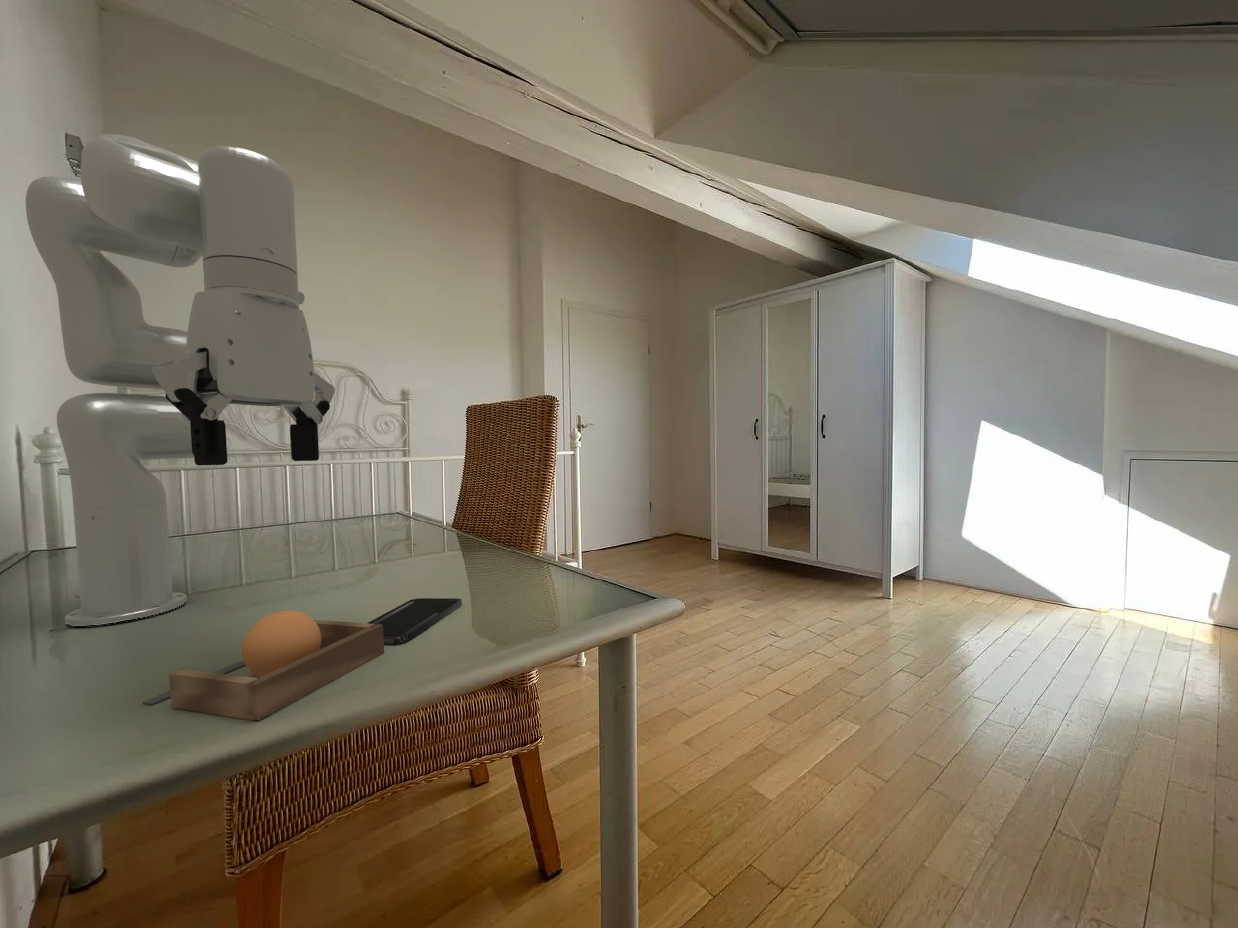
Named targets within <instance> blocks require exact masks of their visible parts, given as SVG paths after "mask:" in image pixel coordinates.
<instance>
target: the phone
mask: <svg viewBox="0 0 1238 928" xmlns="http://www.w3.org/2000/svg"><path fill="white" fill-rule="evenodd" d="M462 602H463V601H462V599H461V598H449V597H448V598H440V597H438V598H437V597H436V598H432V597H431V598H430V597H429V598H427V597H425V598H424V597H421V598H420V597H419V598H412V599H409V600H408V601H406V602H403V603H402V604H400V605H398V606H397V607H395V608H392V609H391V610H389V611H387V612H386V613H384V614H382V615H379V616H378V617H376V618H374V619H373V620H370V621H368V622H366V623H367V624H380V625H383V638H384V646H402V645H404V644H407V643H409V642H411V641H412V640H414V639H415V638H417V637H418V636H419V635H421V634H423V633H424V632H425V631H427V630H428V629H430V628H432V627H433V626H434V625H436V624H437V623H439V622H440V621H442V620H443V619H444V618H446V617H447V616H449V615H450V614H452V613H453V612H454V611H457V610H458V609H459V608H461V607H463V606H462Z"/></svg>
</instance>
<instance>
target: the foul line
mask: <svg viewBox="0 0 1238 928" xmlns="http://www.w3.org/2000/svg"><path fill="white" fill-rule="evenodd" d="M242 667H246V666H245V664H244V661H243V659H242V660H240V661H238V662H235V663H234V664H231V665H228V666H226V667H223V668H221V669H219V670H216V671H213V673H220V674H228V673H230V672H233V671H236V670H237V669H240V668H242ZM169 698H170V699H171V695H170V690H168V691H166V692H163V693H161V694H159V695H157V696H154V697H151V698H149V699H147V700H144V701H142V704H143V705H150V706H153V705H156V704H158V703H161V702H162V701H165V700H168V699H169Z"/></svg>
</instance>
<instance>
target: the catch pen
mask: <svg viewBox="0 0 1238 928" xmlns="http://www.w3.org/2000/svg"><path fill="white" fill-rule="evenodd" d="M313 620H314V621H315V622H316V623H317V625H318V627H319V629H320V633H321V645H320V649H319V650H318V651H316V652H314V653H312V654H310V655H307V656H305V657H303V658H301V659H299V660H297V661H295V662H292V663H290V664H288V665H286V666H284V667H282V668H279V669H277V670H275V671H273V672H271V673H269V674H267V675H264V676H262V677H260V678H259V677H253V676H244V675H235V674H228V673H226V674H220V673H214V672H210V671H203V670H196V669H195V670H193V669H186V668H181V669H177V670H175V671H173V672H171V673H170V672H169V673H168V674H169V675H168V677H169V678H168V679H169V691H170V695H171V697H170V703H171V704H170V707H171V709H176V710H182V711H190V712H195V713H201V714H202V713H203V714H209V715H216V716H222V717H228V718H229V717H230V718H236V719H240V720H249V721H254V720H260V719H262V718H263V719H265V718H267V717H269V716H271V715H272V714H274V713H276V712H278V711H280V710H282V709H284V708H286V707H287V706H289V705H290V704H292V703H294V702H296V701H297V700H300V699H302V698H304V697H305V696H307V695H309V694H311V693H313V692H315V691H317V690H318V689H320V688H322V687H324V686H326V685H327V684H328V683H330V682H332V681H334V680H336V679H338V678H339V677H342V676H343V675H346V674H347V673H349V672H350V671H353V670H355V669H357V668H358V667H359V666H362V665H363V664H366V663H367V662H369V661H371V660H372V659H374V658H377V657H378V656H380V655H381V654H384V653H385V645H384V638H383V625H380V624H367V623H368V622H365V623H364V622H353V621H352V622H351V621H337V620H334V621H333V620H322V619H313ZM268 715H269V716H268ZM266 716H267V717H266ZM264 717H265V718H264ZM263 719H262V720H263ZM260 721H261V720H260Z"/></svg>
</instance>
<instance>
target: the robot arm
mask: <svg viewBox="0 0 1238 928" xmlns="http://www.w3.org/2000/svg"><path fill="white" fill-rule="evenodd" d="M80 156H81V157H80V159H81V165H80V180H77V179H72V178H69V177H68V178H67V177H60V176H42V177H39V178H36V179H34V180H32V181H31V183H30V184H29V185H28V187H27V190H26V194H25V212H26V218H27V219H26V220H27V224H28V228H29V232H30V236H31V237H32V240H33V242H34V244H35V247H36V249H37V251H38V253H39V255H40V257H41V259H42V260H43V263H44V264H45V266H46V268H47V270H48V271H49V273H50V275H51V278H52V279H53V283H54V284H55V288H56V293H57V303H58V310H59V319H60V328H61V334H62V342H63V350H64V355H65V360H66V363H67V366H68V369H69V370H70V371H69V372H71V374H72V375H73V376H74V377H75V378H76V379H78V380H80V381H82V382H85V383H88V384H92V385H100V386H110V387H121V388H138V389H139V388H140V389H150V390H151V389H152V390H154V389H155V390H162V391H164V392H165V395H164V396H162V395H148V394H135V393H116V392H96V393H95V392H93V393H84V394H79V395H76V396H73V397H71V398H68V399H67V400H64V401H63V402H62V404H60V406H59V407H58V411H57V413H56V426H57V431H58V434H59V438H60V441H61V444H62V447H63V451H64V455H65V458H66V462H67V467H68V473H69V478H70V485H71V496H72V508H73V518H74V519H73V520H74V532H75V533H74V534H75V543H76V544H75V547H76V561H77V574H78V575H77V576H78V584H79V585H78V587H79V589H76V591H75V592H74V596H75V598H78V599H80V608H78V609H75V610H73V611H70V612H69V613H66V615H65V616H64V623H65V622H66V623H68V624H71V625H94V624H101V623H108V622H114V621H119V620H126V619H136V620H138V619H137V618H141V619H144V618H143V617H145V618H148V616H149V617H152V616H151V615H153V616H156V615H155V614H157V615H160V614H159V613H161V614H164V613H167V612H170V611H173V610H175V608H176V609H178V608H180V607H182V606H184V605H185V604H186V603H187V602H188V598H187V594H185V593H183V592H177V591H176V592H173V581H172V565H171V563H172V561H171V550H170V536H169V534H170V533H169V522H168V521H169V519H168V508H167V494H166V489H165V487H164V485H163V483H162V481H161V480H159V478H158V477H156V475H154V473H152V472H151V471H150V470H148V469H147V467H145V466H144V465H143V464H142V462H141V461H149V460H166V459H168V460H169V459H170V460H171V459H192V458H193V459H194V464H195V465H196V466H224V465H226V464H227V463H228V446H227V445H228V444H227V426H226V423H225V420H224V419H220V415H221V413H222V412H223V411H224V410H225V409H226V408H227V406H229V404H230V405H241V406H242V405H243V406H254V407H255V406H256V407H257V406H258V407H280V406H282V407H283V408H284V410H285V411H286V412H287V413H288V415H289V416H290V417H291V418H292V420H293V421H294V422H295V424H290V427H289V435H290V436H289V437H290V438H289V439H290V453H291V454H290V455H291V460H292V461H294V462H309V461H311V462H312V461H313V462H314V461H316V462H317V461H319V459H320V448H319V430H318V429H319V427H318V426H319V424H322V423H323V421H324V416H325V415H326V414H327V413H328V411H329V410H330V408H331V404H330V403H332V400H333V397H334V395H335V392H336V389H335V386H333V385H332V384H331V383H329V382H328V381H327V380H326V379H324V378H323V377H321V376H320V375H319V374H317V372H315V367H314V366H315V365H314V358H313V352H312V344H311V339H310V334H309V333H310V332H309V329H308V326H307V325H308V324H307V321H306V317H305V314H304V310H302V309H300V305H303V304H304V302H305V300H306V299H305V294H304V292H301V291H299V280H298V279H299V277H298V257H297V254H298V253H297V240H296V239H297V238H296V237H297V236H296V233H297V232H296V220H295V219H296V215H295V195H294V186H293V182H292V179H291V178H290V175H289V174H288V173H287V171H286V170H285V168H284V167H282V166H281V165H280V164H279V163H278V162H276V161H275V160H274V159H271V158H269V157H268V156H266V155H264V154H262V153H259V152H256V151H253V150H250V149H246V148H243V147H242V148H241V147H237V146H227V145H220V146H219V145H218V146H213V147H210V148H208V149H206V150H204V151H203V152H202V153H201V155H200V156H199V158H198V161H196V160H194V159H191V158H189V157H185V156H183V155H180V154H177V153H175V152H172V151H170V150H166V149H165V148H162V147H160V146H156V145H153V144H151V143H149V142H145V141H143V140H141V139H138V138H135V137H131V136H130V135H129V136H128V135H123V134H118V133H116V134H115V133H105V134H99V135H96V136H94V137H92V138H91V139H89V140H88V141H86V143H85V145H84V146H83V148H82V150H81V155H80ZM102 252H107V253H110V254H115V255H120V256H122V257H123V256H124V257H128V258H132V259H136V260H142V261H146V262H151V263H153V264H154V263H156V264H160V265H163V266H166V267H167V266H168V267H174V268H188V267H191V266H193V265H195V264H196V263H198V261H199V260H200V259H201V258H202V265H203V266H202V267H203V286H204V291H198V292H195V294H194V297H193V300H192V305H191V310H190V314H189V319H188V320H189V321H188V327H187V331H186V330H182V329H178V328H177V329H176V328H172V327H171V328H170V327H164V326H158V325H156V326H155V325H150V324H149V323H147V322H146V321H145V319H144V315H143V307H142V298H141V295H140V292H139V290H138V288H137V287H136V286H135V284H134V283H133V282H132V280H130V279H129V278H128V276H127V275H126V273H124V272H123V271H122V270H121V269H120V268H119V267H118V266H116V265H115V263H113V262H112V261H111V260H110V259H108V258H107V257H106V256H105V255H104V254H103V253H102ZM186 601H187V602H186ZM185 602H186V603H185ZM184 603H185V604H184ZM183 604H184V605H183ZM181 605H182V606H181ZM179 606H180V607H179ZM177 607H178V608H177ZM172 609H173V610H172ZM169 610H170V611H169ZM166 611H167V612H166ZM163 612H164V613H163Z"/></svg>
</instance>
